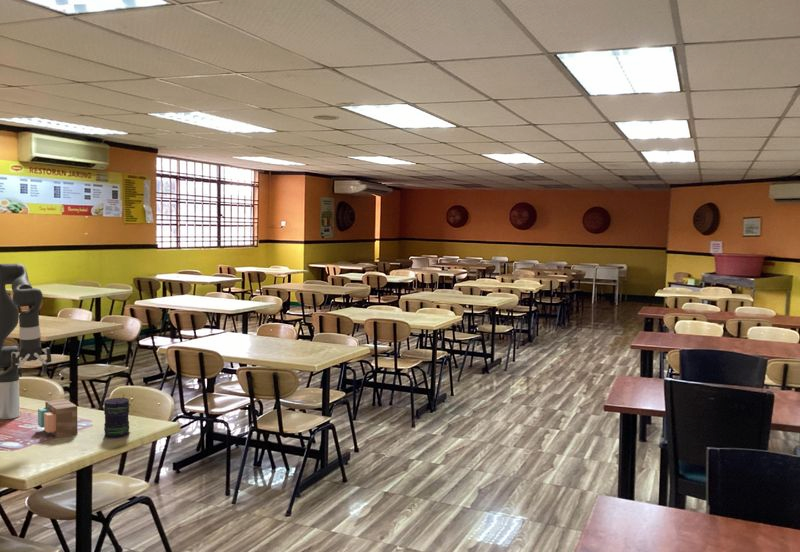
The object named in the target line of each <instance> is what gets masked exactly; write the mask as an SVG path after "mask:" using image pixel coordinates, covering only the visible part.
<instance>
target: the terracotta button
mask: <svg viewBox="0 0 800 552" xmlns="http://www.w3.org/2000/svg"><path fill="white" fill-rule="evenodd" d="M43 428H44V429H43V430H44V431H45V432H46V433H51V432H54V431H56V413H55V412H49V413H44V427H43Z"/></svg>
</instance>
